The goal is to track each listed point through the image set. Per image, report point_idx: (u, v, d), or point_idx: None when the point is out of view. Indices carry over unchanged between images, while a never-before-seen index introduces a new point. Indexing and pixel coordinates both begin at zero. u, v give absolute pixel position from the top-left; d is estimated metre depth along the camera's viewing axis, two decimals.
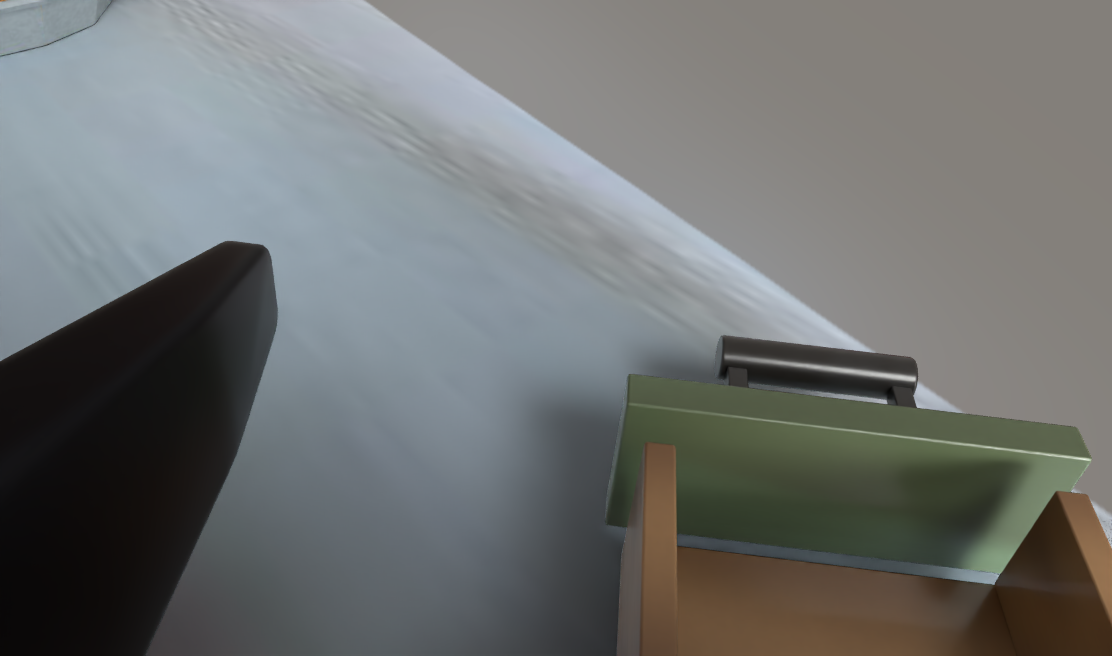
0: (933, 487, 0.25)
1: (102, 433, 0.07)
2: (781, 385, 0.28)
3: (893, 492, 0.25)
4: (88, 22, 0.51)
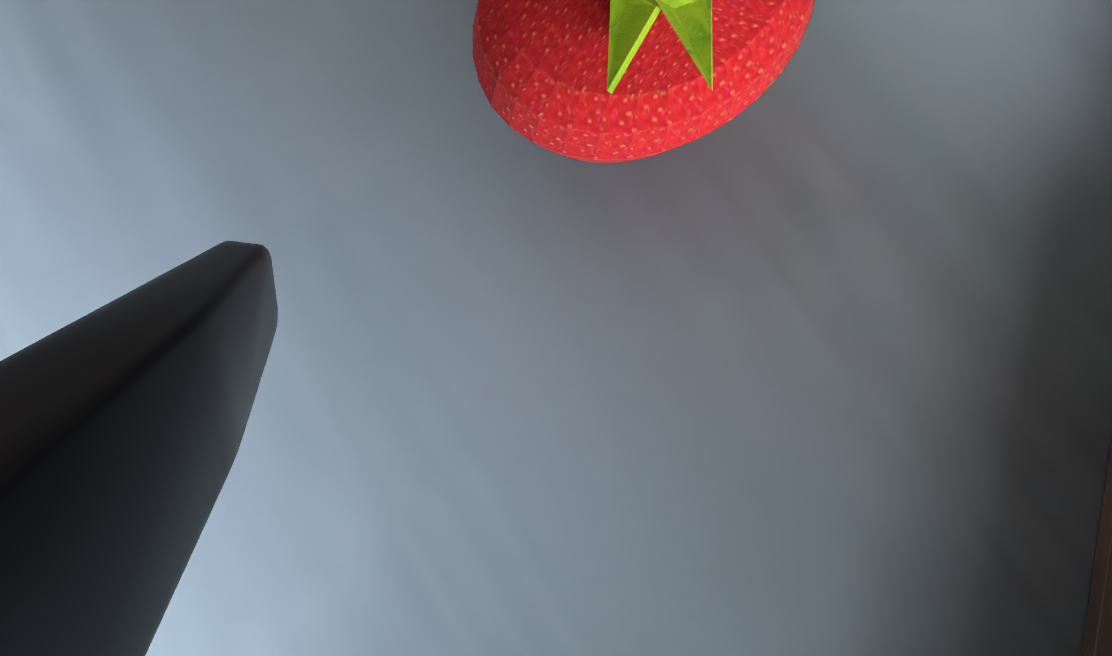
0: None
1: (102, 433, 0.07)
2: None
3: None
4: None
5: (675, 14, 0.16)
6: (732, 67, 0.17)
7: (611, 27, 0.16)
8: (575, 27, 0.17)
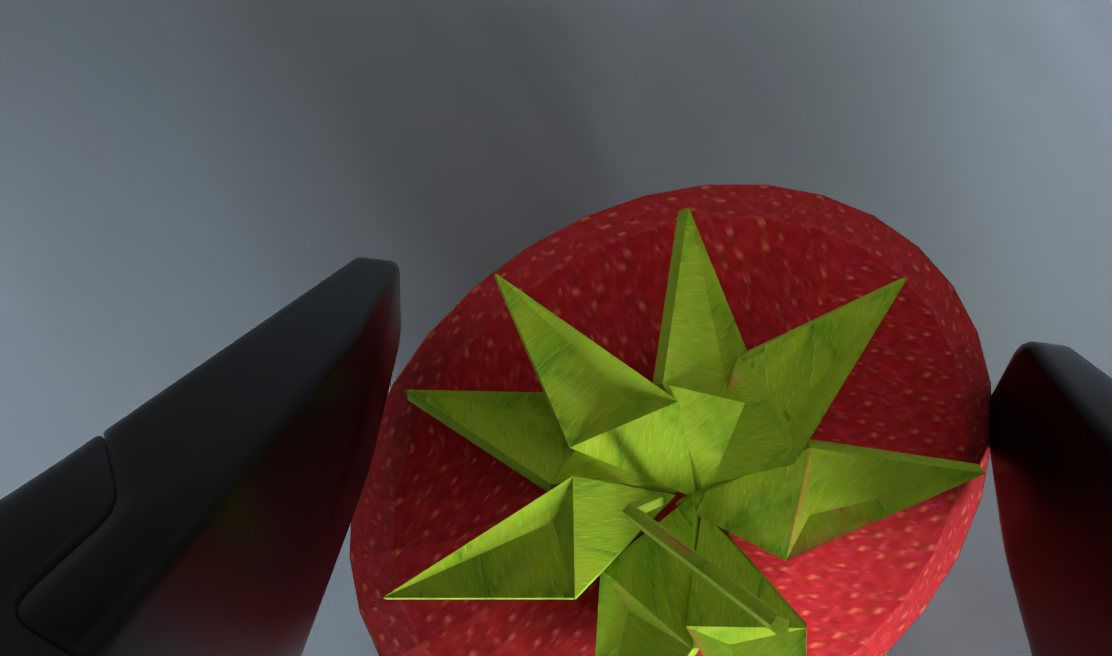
0: None
1: (281, 456, 0.07)
2: None
3: None
4: None
5: None
6: None
7: None
8: (527, 623, 0.08)
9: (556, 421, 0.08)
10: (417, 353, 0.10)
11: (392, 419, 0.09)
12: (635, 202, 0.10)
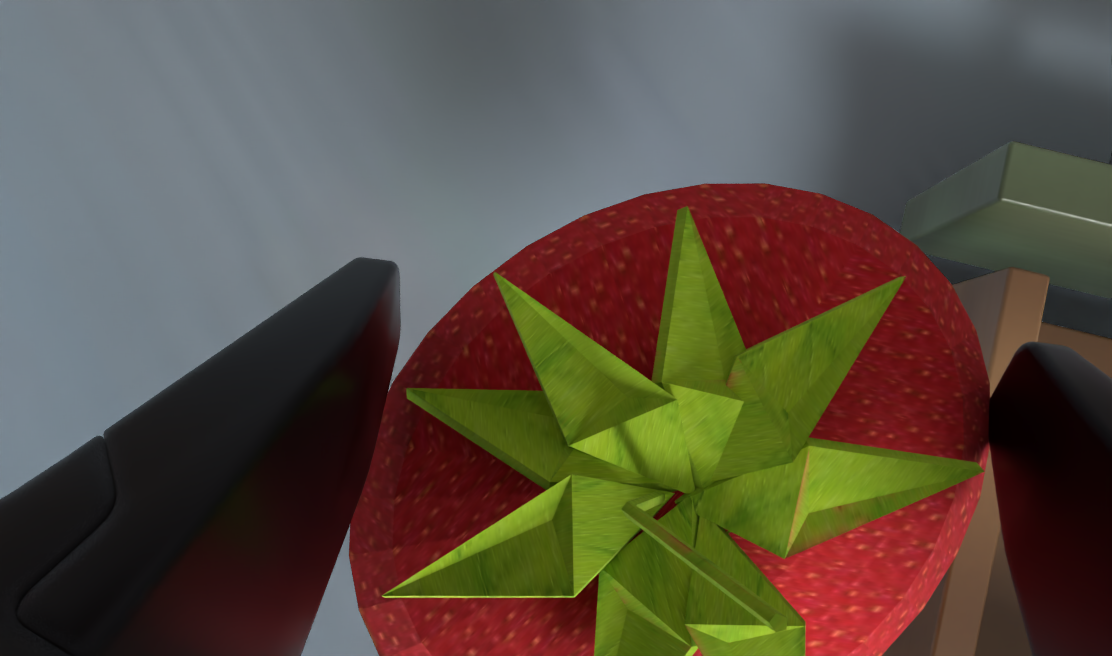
0: None
1: (281, 455, 0.07)
2: None
3: None
4: None
5: None
6: None
7: None
8: (526, 621, 0.08)
9: (555, 420, 0.08)
10: (416, 352, 0.10)
11: (391, 418, 0.09)
12: (634, 201, 0.10)
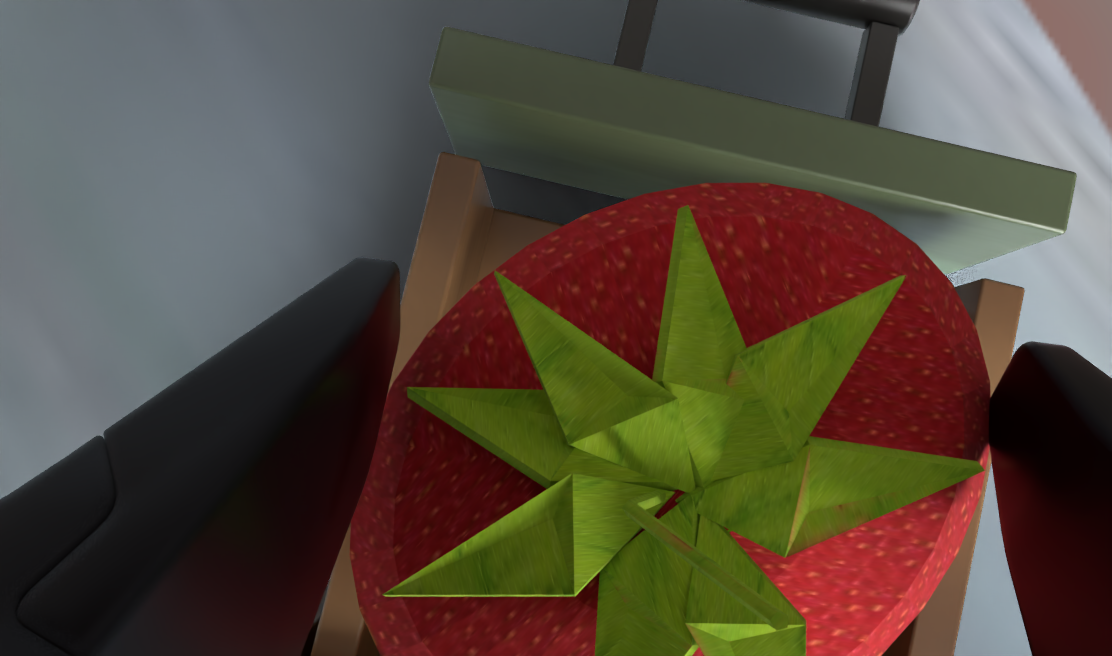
0: None
1: (281, 456, 0.07)
2: None
3: None
4: None
5: None
6: None
7: None
8: (527, 620, 0.08)
9: (555, 418, 0.08)
10: (417, 351, 0.10)
11: (392, 417, 0.09)
12: (634, 200, 0.10)
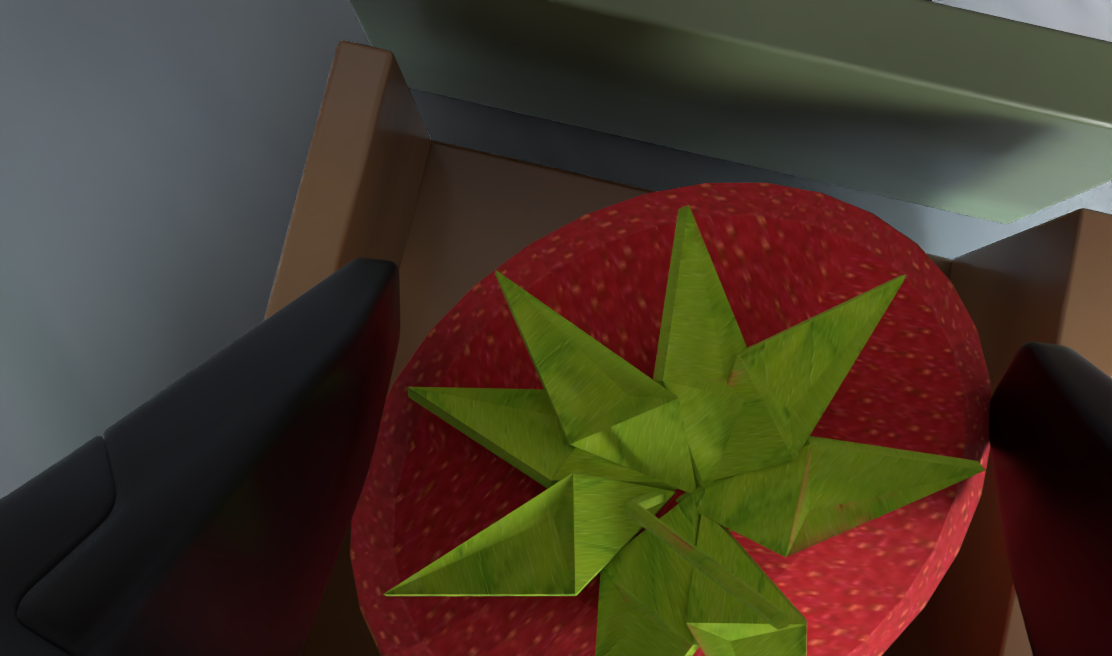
0: (890, 129, 0.14)
1: (280, 456, 0.07)
2: None
3: (822, 123, 0.14)
4: None
5: None
6: None
7: None
8: (528, 619, 0.08)
9: (556, 418, 0.08)
10: (417, 351, 0.10)
11: (392, 417, 0.09)
12: (635, 200, 0.10)
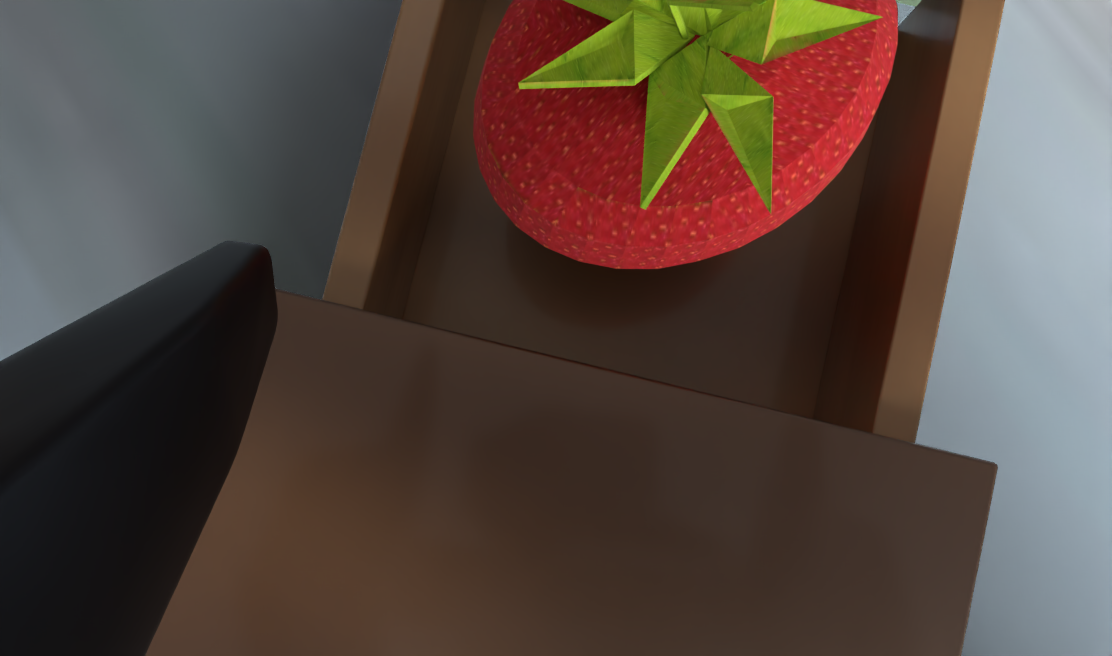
0: None
1: (102, 433, 0.07)
2: None
3: None
4: None
5: (728, 118, 0.13)
6: (789, 175, 0.14)
7: (647, 129, 0.13)
8: (602, 122, 0.14)
9: None
10: None
11: (510, 22, 0.14)
12: None
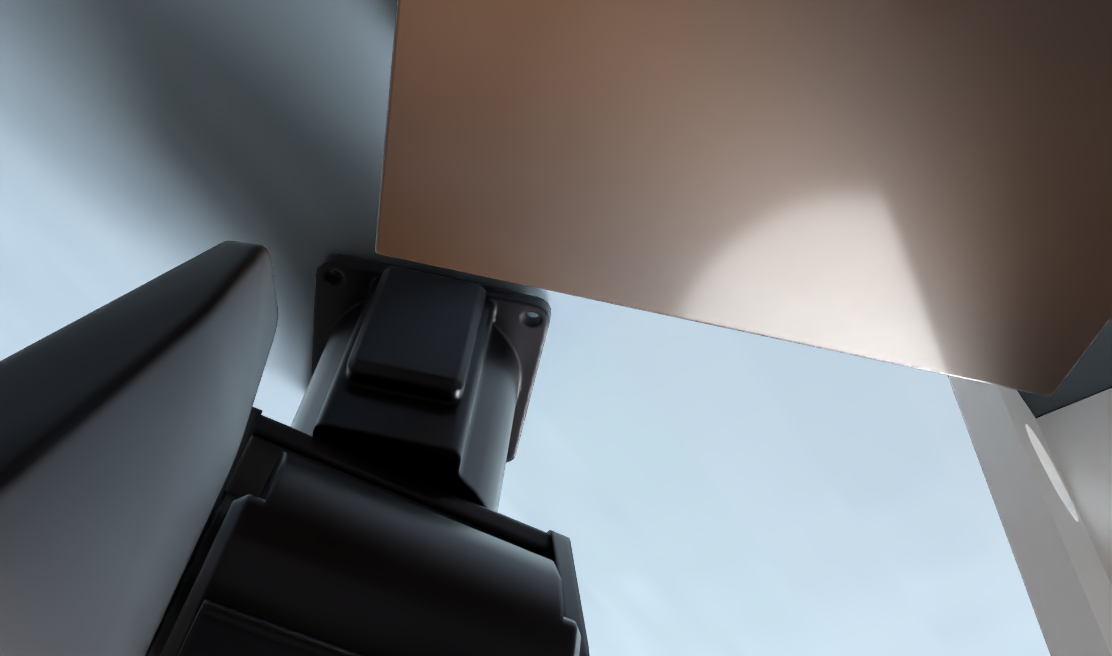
0: None
1: (102, 433, 0.07)
2: None
3: None
4: None
5: None
6: None
7: None
8: None
9: None
10: None
11: None
12: None
